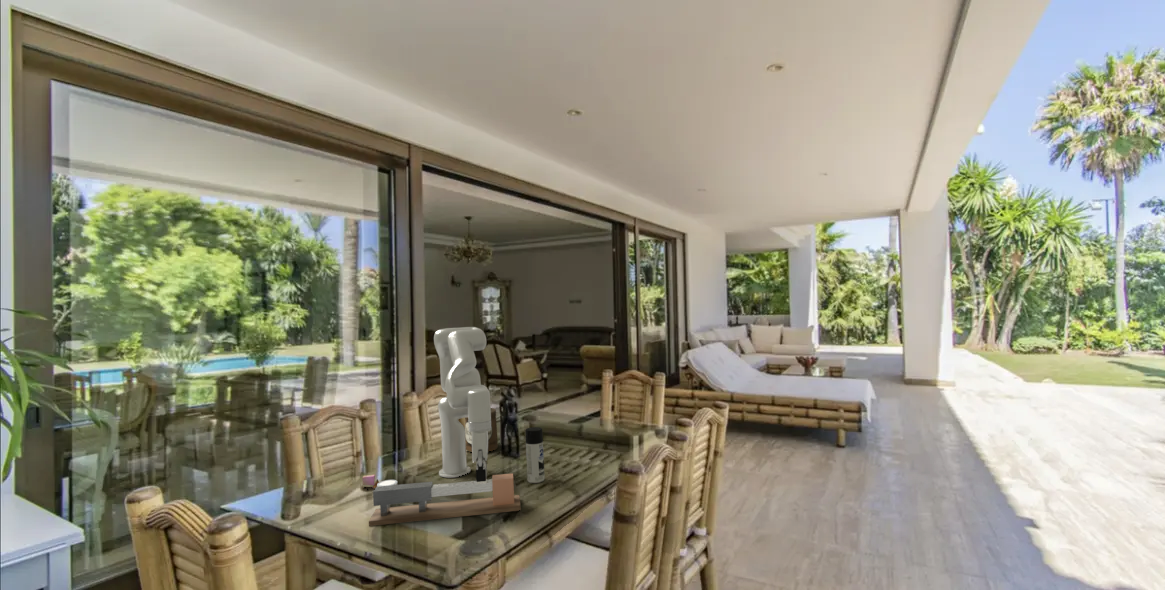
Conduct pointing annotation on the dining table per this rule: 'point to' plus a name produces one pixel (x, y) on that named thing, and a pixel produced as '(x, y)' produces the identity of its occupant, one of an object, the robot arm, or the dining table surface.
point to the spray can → (534, 455)
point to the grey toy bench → (402, 495)
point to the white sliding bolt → (461, 488)
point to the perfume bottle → (370, 480)
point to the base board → (442, 511)
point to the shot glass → (387, 483)
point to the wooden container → (491, 434)
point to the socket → (503, 489)
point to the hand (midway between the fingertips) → (481, 476)
